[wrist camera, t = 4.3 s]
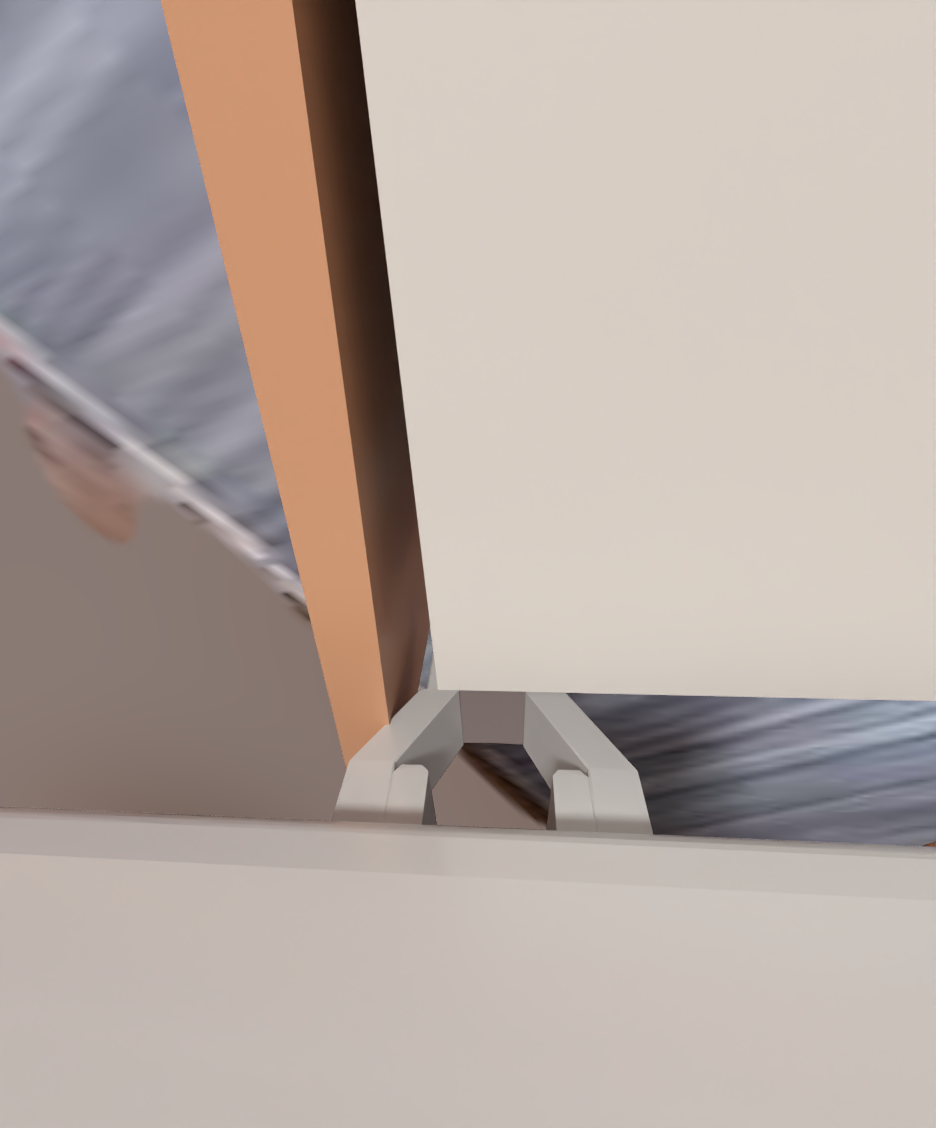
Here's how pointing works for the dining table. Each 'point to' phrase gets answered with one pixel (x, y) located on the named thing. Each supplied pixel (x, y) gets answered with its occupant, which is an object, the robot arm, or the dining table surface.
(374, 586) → the hatch
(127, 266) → the dining table surface
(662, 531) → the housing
